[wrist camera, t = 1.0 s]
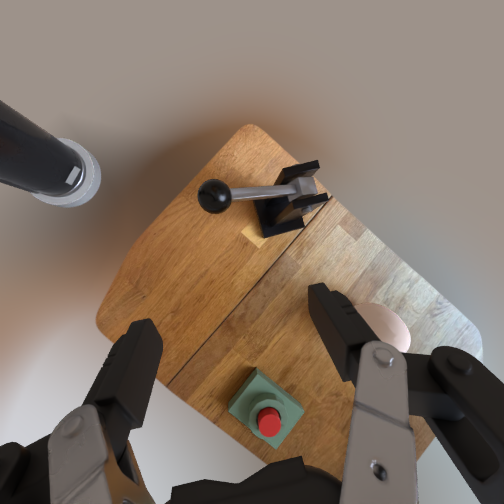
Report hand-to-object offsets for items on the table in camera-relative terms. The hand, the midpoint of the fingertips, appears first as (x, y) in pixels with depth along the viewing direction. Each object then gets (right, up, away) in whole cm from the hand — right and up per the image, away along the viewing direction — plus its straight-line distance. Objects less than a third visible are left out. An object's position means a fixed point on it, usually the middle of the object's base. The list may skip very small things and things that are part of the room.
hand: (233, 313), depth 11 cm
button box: (+3, -25, +28) cm, 38 cm away
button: (+4, -25, +25) cm, 35 cm away
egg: (+21, -10, +31) cm, 38 cm away
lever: (+1, +9, +14) cm, 17 cm away
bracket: (+6, +11, +30) cm, 32 cm away
